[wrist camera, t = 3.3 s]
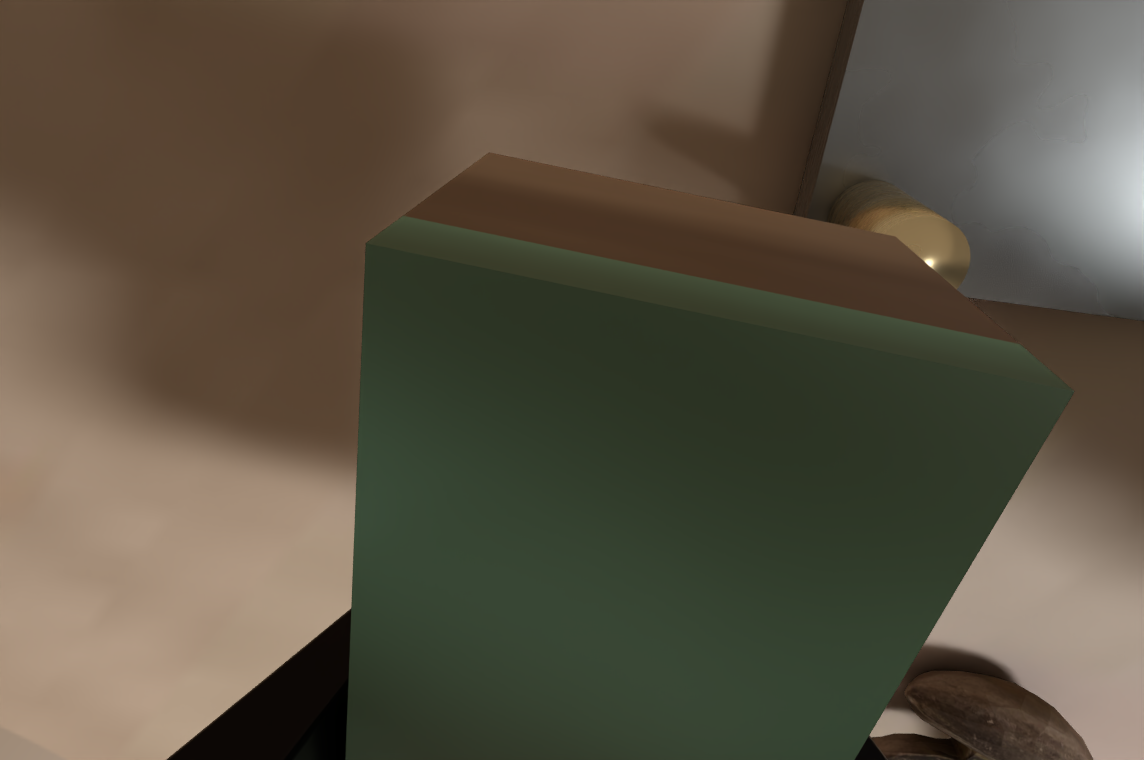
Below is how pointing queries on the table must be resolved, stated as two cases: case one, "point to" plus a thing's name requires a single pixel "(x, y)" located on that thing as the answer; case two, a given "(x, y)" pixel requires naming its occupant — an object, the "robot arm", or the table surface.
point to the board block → (661, 473)
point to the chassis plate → (992, 145)
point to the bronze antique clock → (982, 722)
